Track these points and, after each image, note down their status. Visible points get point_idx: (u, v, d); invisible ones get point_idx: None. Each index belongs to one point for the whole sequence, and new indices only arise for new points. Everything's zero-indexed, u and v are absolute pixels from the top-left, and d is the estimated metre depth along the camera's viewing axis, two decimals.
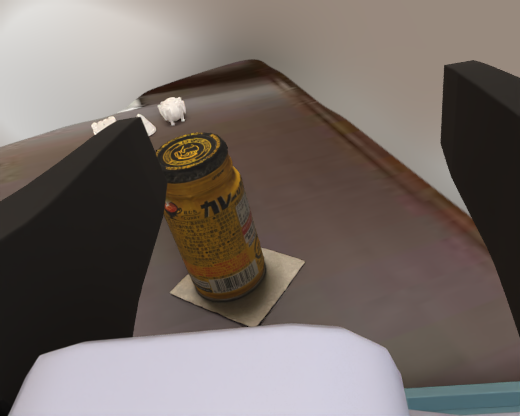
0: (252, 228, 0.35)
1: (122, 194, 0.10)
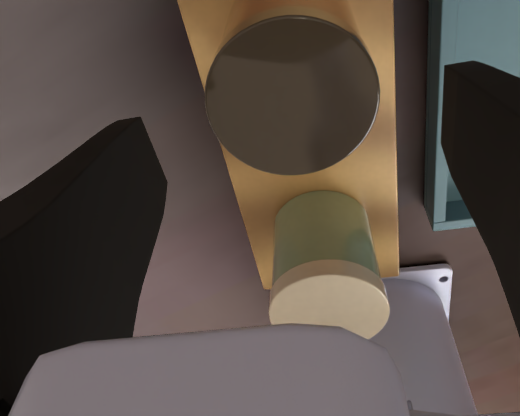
0: None
1: (123, 194, 0.10)
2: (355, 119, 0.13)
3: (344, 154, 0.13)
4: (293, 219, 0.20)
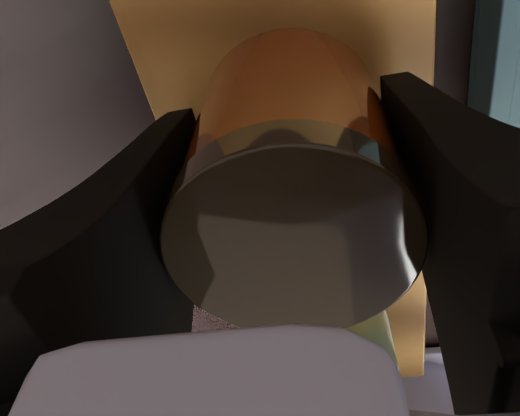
0: None
1: None
2: (388, 276, 0.08)
3: (370, 314, 0.09)
4: None
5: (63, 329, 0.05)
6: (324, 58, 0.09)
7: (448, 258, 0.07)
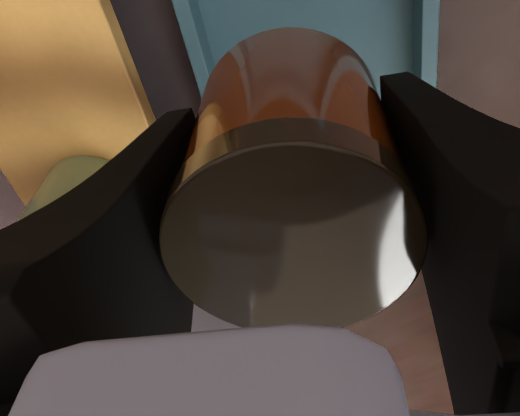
0: None
1: None
2: (388, 275, 0.08)
3: (369, 313, 0.09)
4: (41, 185, 0.18)
5: (63, 329, 0.05)
6: (323, 56, 0.09)
7: (448, 258, 0.07)
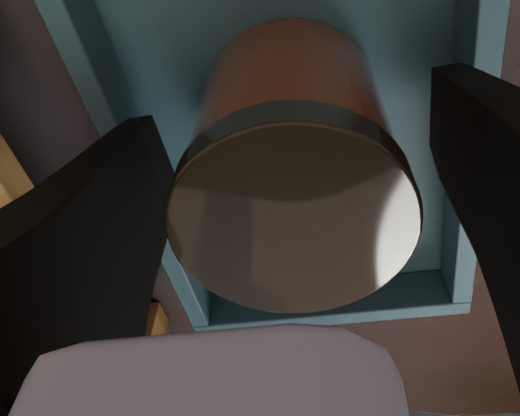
0: None
1: (135, 192, 0.10)
2: (385, 253, 0.09)
3: (367, 291, 0.09)
4: None
5: None
6: (322, 45, 0.10)
7: None
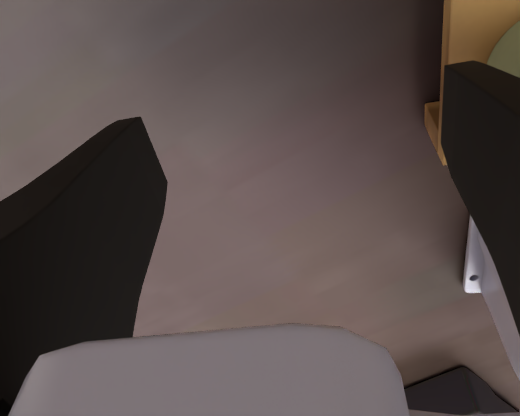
0: None
1: (122, 195, 0.10)
2: None
3: None
4: None
5: None
6: None
7: None
